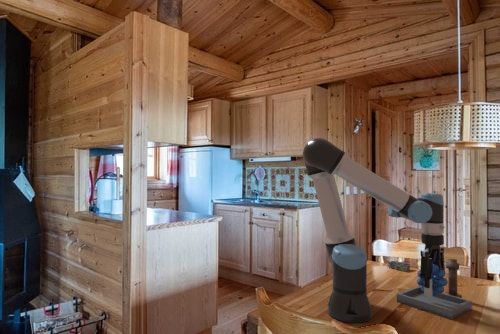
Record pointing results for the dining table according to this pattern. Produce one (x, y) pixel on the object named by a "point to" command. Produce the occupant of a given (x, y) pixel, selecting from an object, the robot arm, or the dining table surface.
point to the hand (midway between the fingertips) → (433, 294)
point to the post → (452, 277)
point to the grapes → (434, 280)
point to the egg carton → (399, 265)
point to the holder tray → (435, 303)
